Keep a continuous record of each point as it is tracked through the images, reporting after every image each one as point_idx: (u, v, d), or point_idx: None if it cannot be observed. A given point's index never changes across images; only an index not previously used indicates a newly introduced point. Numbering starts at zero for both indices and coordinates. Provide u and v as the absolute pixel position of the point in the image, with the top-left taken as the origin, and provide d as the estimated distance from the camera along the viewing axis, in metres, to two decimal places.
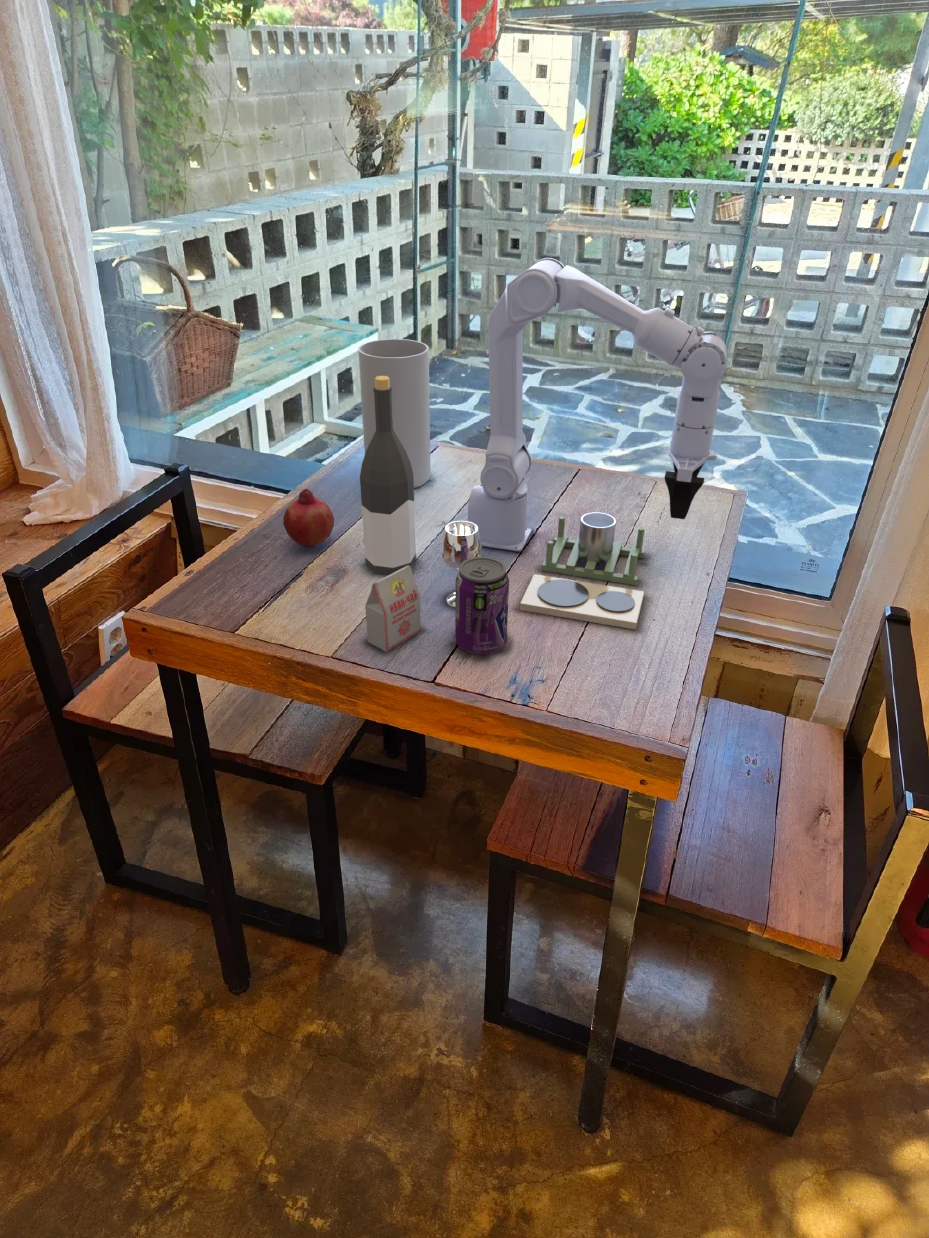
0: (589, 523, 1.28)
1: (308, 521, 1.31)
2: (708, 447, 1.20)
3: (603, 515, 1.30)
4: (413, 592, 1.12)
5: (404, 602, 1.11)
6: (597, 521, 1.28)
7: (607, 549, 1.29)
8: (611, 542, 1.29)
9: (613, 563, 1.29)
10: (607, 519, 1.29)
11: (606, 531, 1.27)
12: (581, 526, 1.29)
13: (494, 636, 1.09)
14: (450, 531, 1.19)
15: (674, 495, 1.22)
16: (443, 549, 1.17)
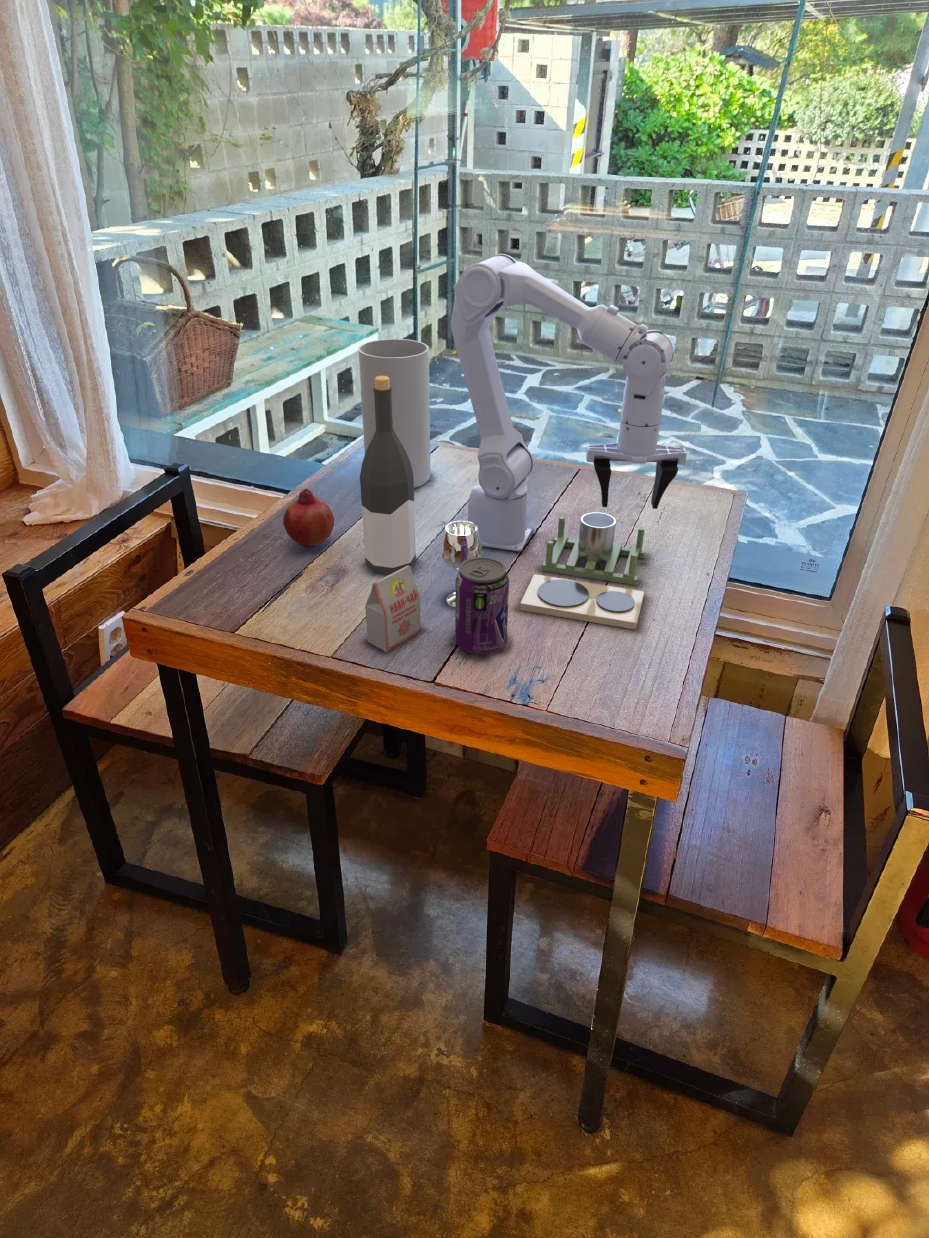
0: (589, 523, 1.28)
1: (308, 521, 1.31)
2: (632, 447, 1.19)
3: (603, 515, 1.30)
4: (413, 592, 1.12)
5: (404, 602, 1.11)
6: (597, 521, 1.28)
7: (607, 549, 1.29)
8: (611, 542, 1.29)
9: (613, 563, 1.29)
10: (607, 519, 1.29)
11: (606, 531, 1.27)
12: (581, 526, 1.29)
13: (494, 636, 1.09)
14: (450, 531, 1.19)
15: None
16: (443, 549, 1.17)
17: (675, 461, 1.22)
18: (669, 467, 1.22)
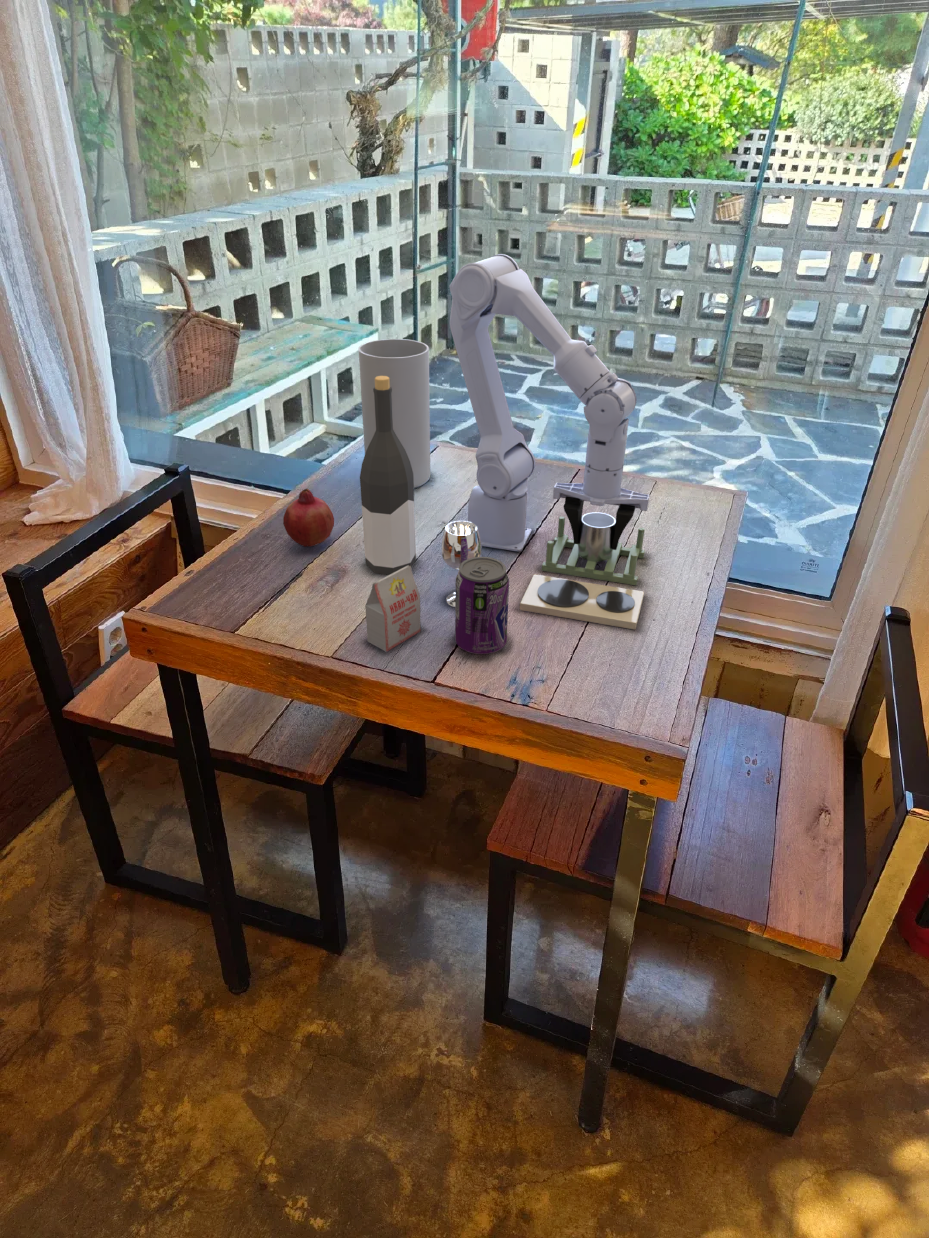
0: (589, 523, 1.28)
1: (308, 521, 1.31)
2: (592, 489, 1.24)
3: (603, 515, 1.30)
4: (413, 592, 1.12)
5: (404, 602, 1.11)
6: (597, 521, 1.28)
7: (607, 549, 1.29)
8: (611, 542, 1.29)
9: (613, 563, 1.29)
10: (607, 519, 1.29)
11: (606, 531, 1.27)
12: (581, 526, 1.29)
13: (494, 636, 1.09)
14: (450, 531, 1.19)
15: None
16: (443, 549, 1.17)
17: (633, 506, 1.25)
18: (625, 511, 1.25)
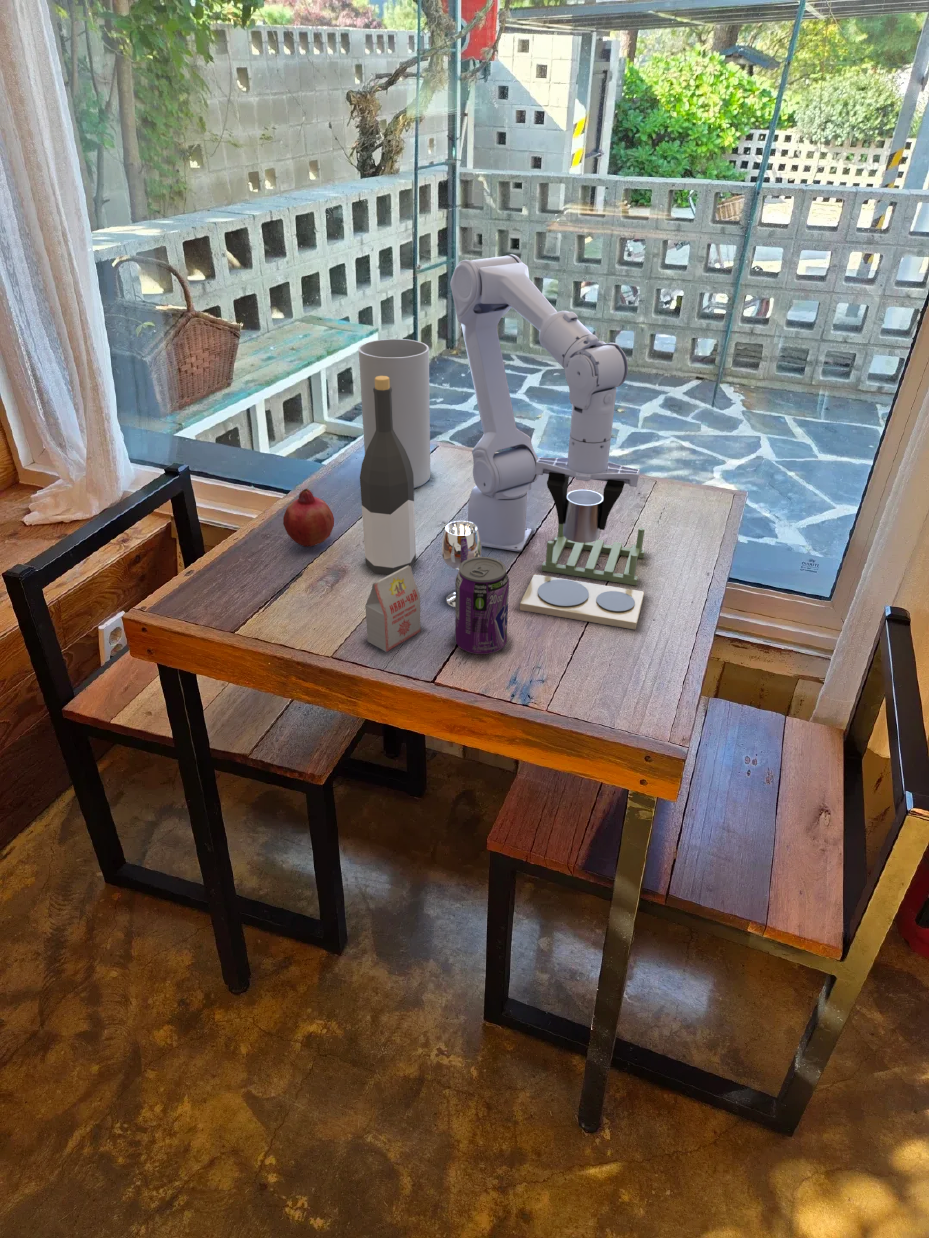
0: (575, 501, 1.18)
1: (308, 521, 1.31)
2: (577, 463, 1.14)
3: (590, 492, 1.20)
4: (413, 592, 1.12)
5: (404, 602, 1.11)
6: (583, 499, 1.19)
7: (594, 528, 1.19)
8: (599, 521, 1.19)
9: (613, 563, 1.29)
10: (594, 496, 1.19)
11: (593, 509, 1.17)
12: (566, 504, 1.19)
13: (494, 636, 1.09)
14: (450, 531, 1.19)
15: None
16: (443, 549, 1.17)
17: (621, 481, 1.16)
18: (614, 487, 1.15)
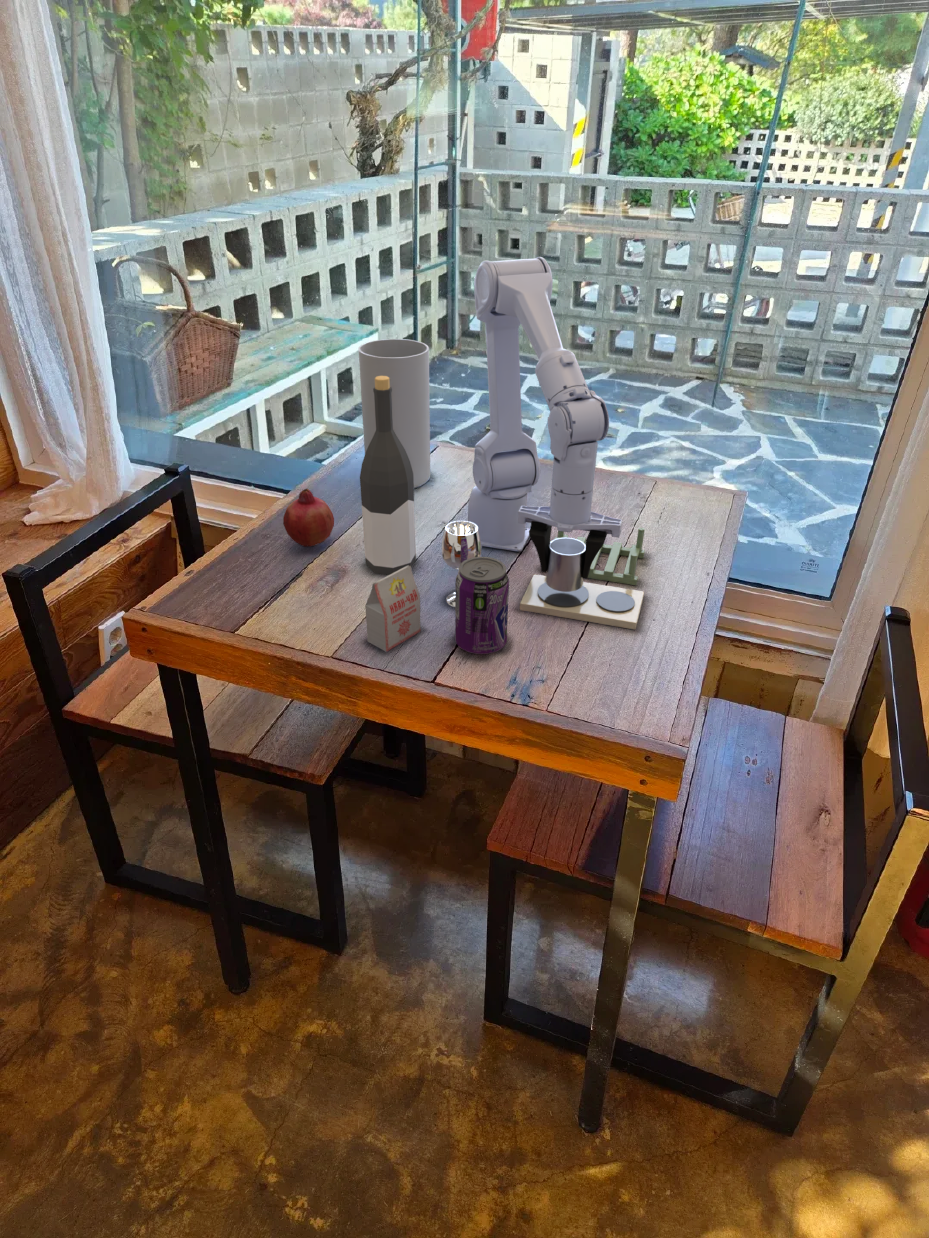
0: (557, 550, 1.17)
1: (308, 521, 1.31)
2: (559, 514, 1.13)
3: (573, 541, 1.19)
4: (413, 592, 1.12)
5: (404, 602, 1.11)
6: (566, 548, 1.18)
7: (577, 578, 1.18)
8: (581, 570, 1.18)
9: (613, 563, 1.29)
10: (577, 545, 1.18)
11: (575, 559, 1.16)
12: (549, 553, 1.18)
13: (494, 636, 1.09)
14: (450, 531, 1.19)
15: None
16: (443, 549, 1.17)
17: (604, 532, 1.15)
18: (596, 537, 1.14)
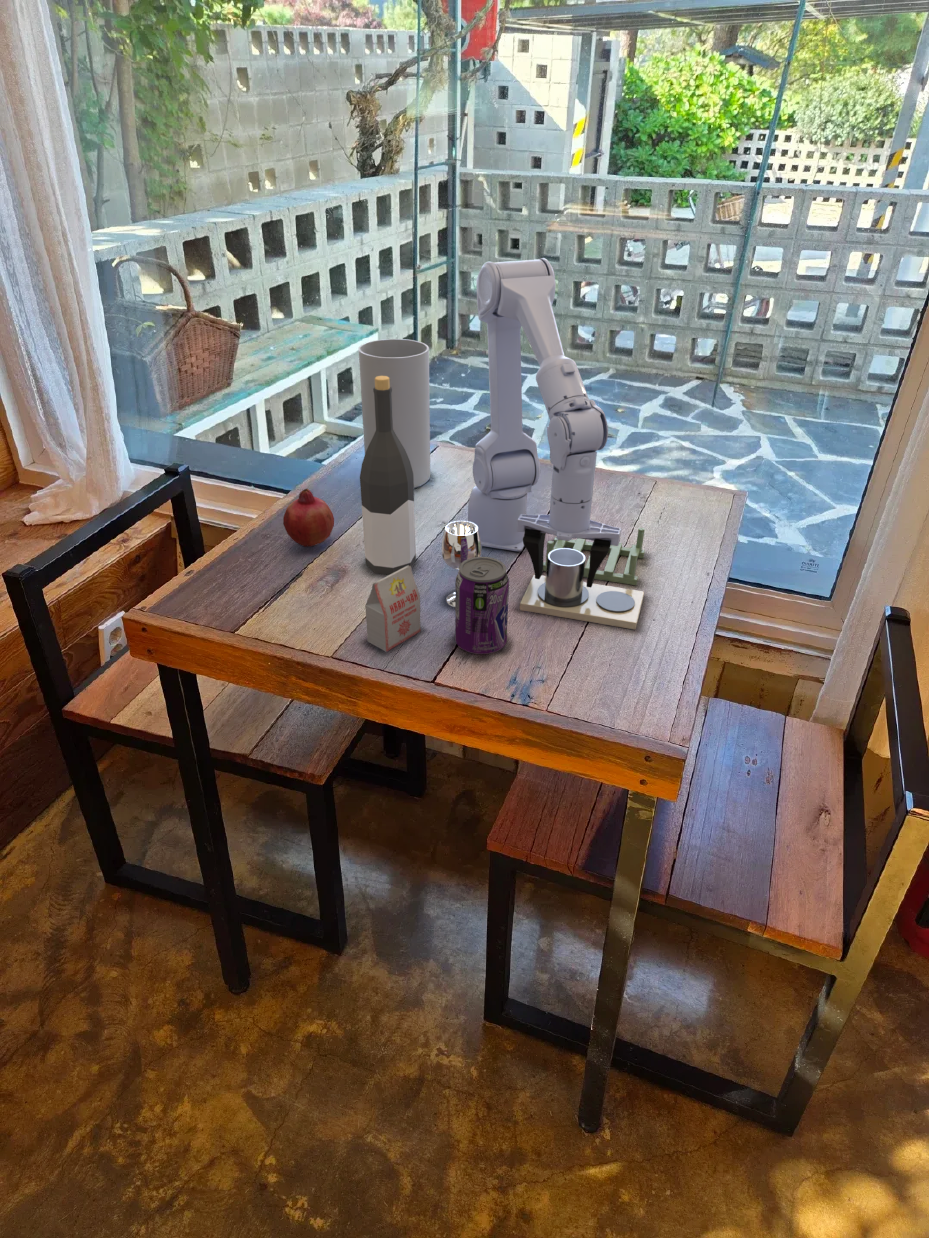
0: (556, 561, 1.18)
1: (308, 521, 1.31)
2: (558, 522, 1.14)
3: (572, 551, 1.20)
4: (413, 592, 1.12)
5: (404, 602, 1.11)
6: (565, 558, 1.19)
7: (576, 588, 1.19)
8: (580, 581, 1.19)
9: (613, 563, 1.29)
10: (576, 556, 1.19)
11: (574, 570, 1.17)
12: (548, 564, 1.19)
13: (494, 636, 1.09)
14: (450, 531, 1.19)
15: None
16: (443, 549, 1.17)
17: (608, 541, 1.15)
18: (600, 546, 1.15)
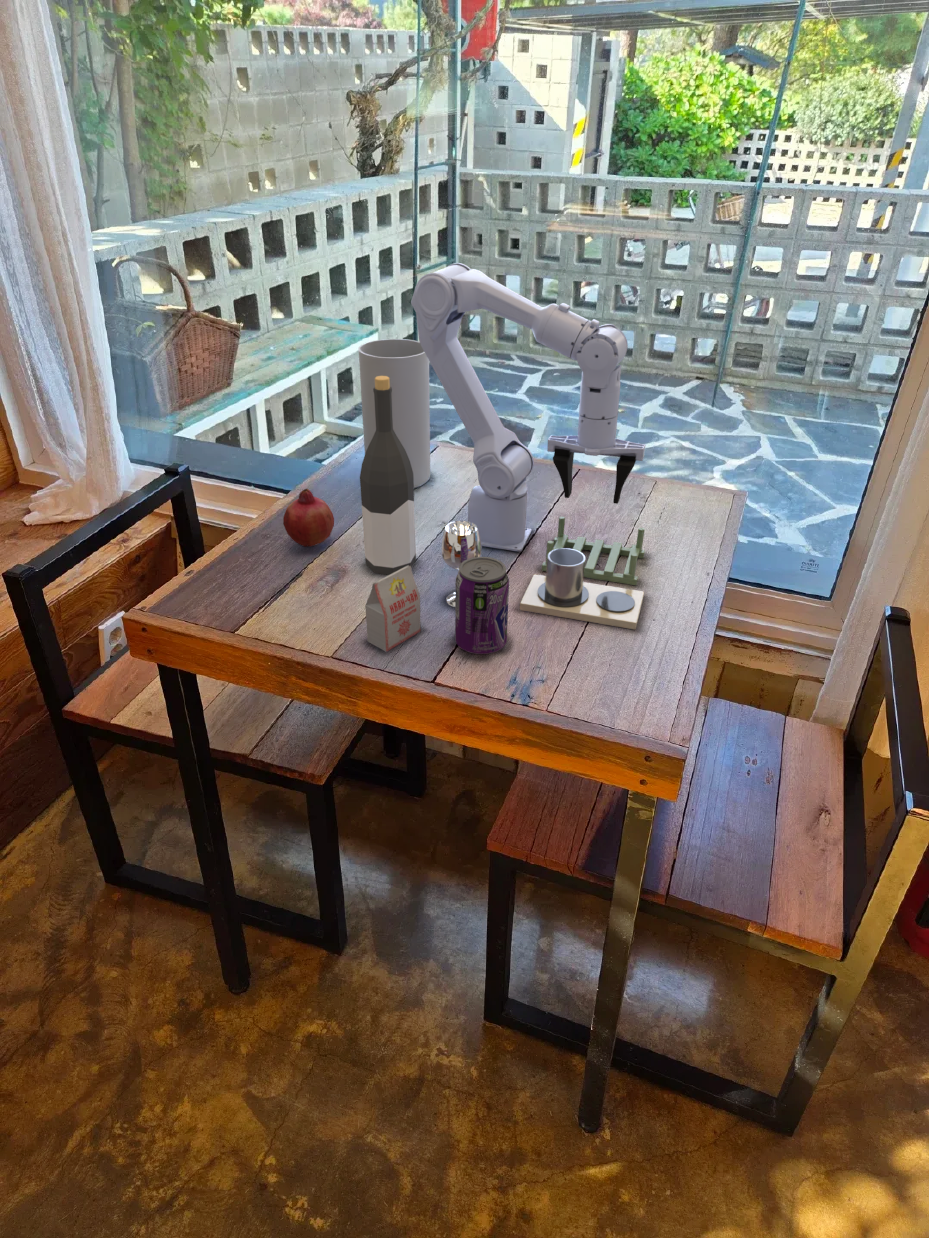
0: (556, 561, 1.18)
1: (308, 521, 1.31)
2: (586, 439, 1.22)
3: (572, 551, 1.20)
4: (413, 592, 1.12)
5: (404, 602, 1.11)
6: (565, 558, 1.19)
7: (576, 588, 1.19)
8: (580, 581, 1.19)
9: (613, 563, 1.29)
10: (576, 556, 1.19)
11: (574, 570, 1.17)
12: (548, 564, 1.19)
13: (494, 636, 1.09)
14: (450, 531, 1.19)
15: None
16: (443, 549, 1.17)
17: (633, 457, 1.23)
18: (626, 462, 1.23)
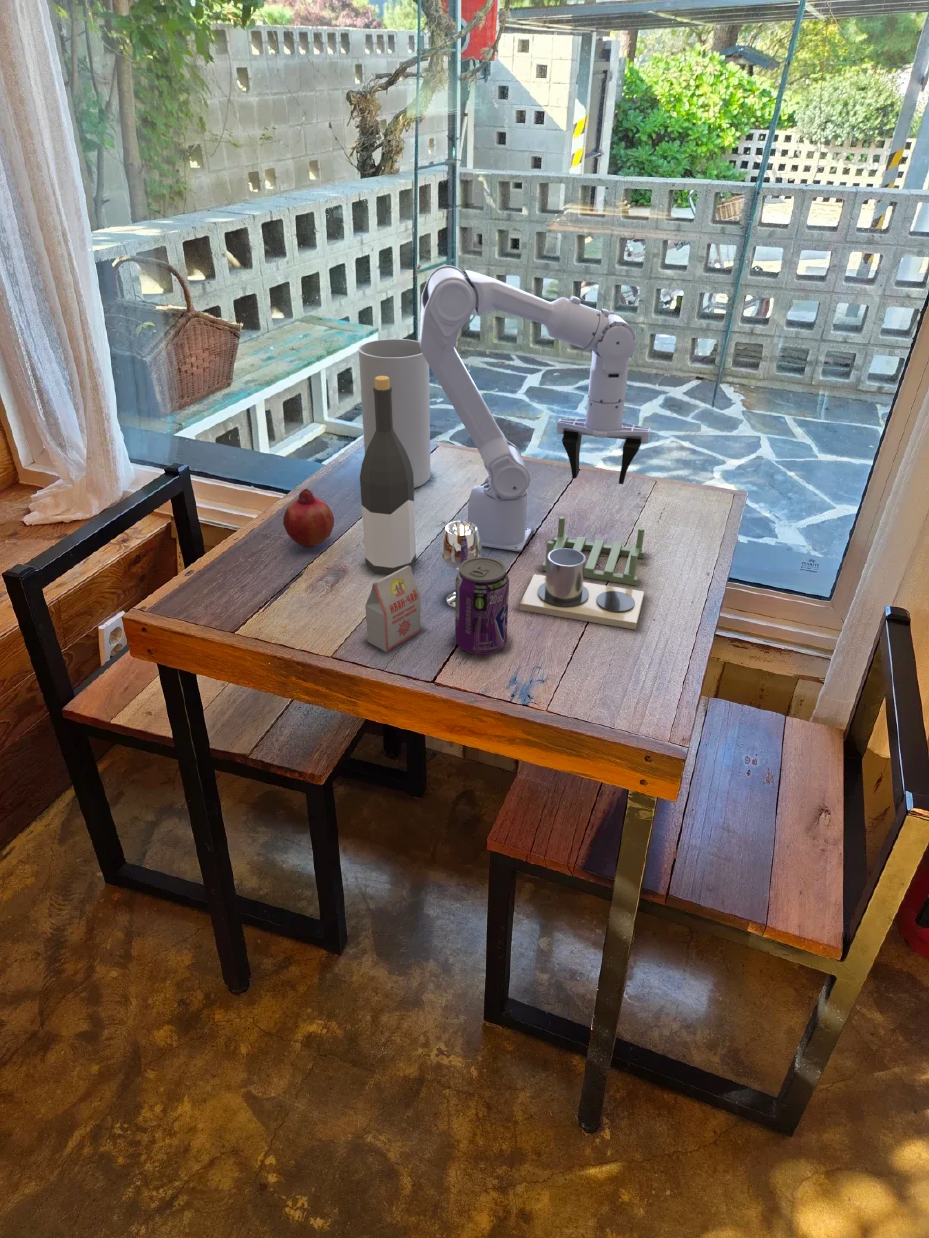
0: (556, 561, 1.18)
1: (308, 521, 1.31)
2: (594, 422, 1.28)
3: (572, 551, 1.20)
4: (413, 592, 1.12)
5: (404, 602, 1.11)
6: (565, 558, 1.19)
7: (576, 588, 1.19)
8: (580, 581, 1.19)
9: (613, 563, 1.29)
10: (576, 556, 1.19)
11: (574, 570, 1.17)
12: (548, 564, 1.19)
13: (494, 636, 1.09)
14: (450, 531, 1.19)
15: None
16: (443, 549, 1.17)
17: (639, 439, 1.29)
18: (632, 444, 1.29)
